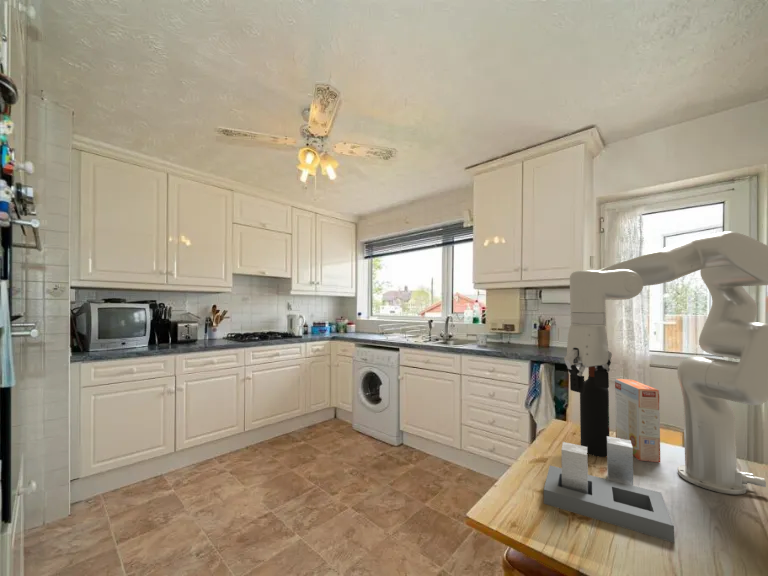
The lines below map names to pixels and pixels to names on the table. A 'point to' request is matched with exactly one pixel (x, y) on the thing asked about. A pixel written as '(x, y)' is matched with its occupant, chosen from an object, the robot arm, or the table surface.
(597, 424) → the wine bottle
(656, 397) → the cracker box
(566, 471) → the block
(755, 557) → the table surface
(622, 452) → the loose billet
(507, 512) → the table surface
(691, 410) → the robot arm
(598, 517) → the tray
